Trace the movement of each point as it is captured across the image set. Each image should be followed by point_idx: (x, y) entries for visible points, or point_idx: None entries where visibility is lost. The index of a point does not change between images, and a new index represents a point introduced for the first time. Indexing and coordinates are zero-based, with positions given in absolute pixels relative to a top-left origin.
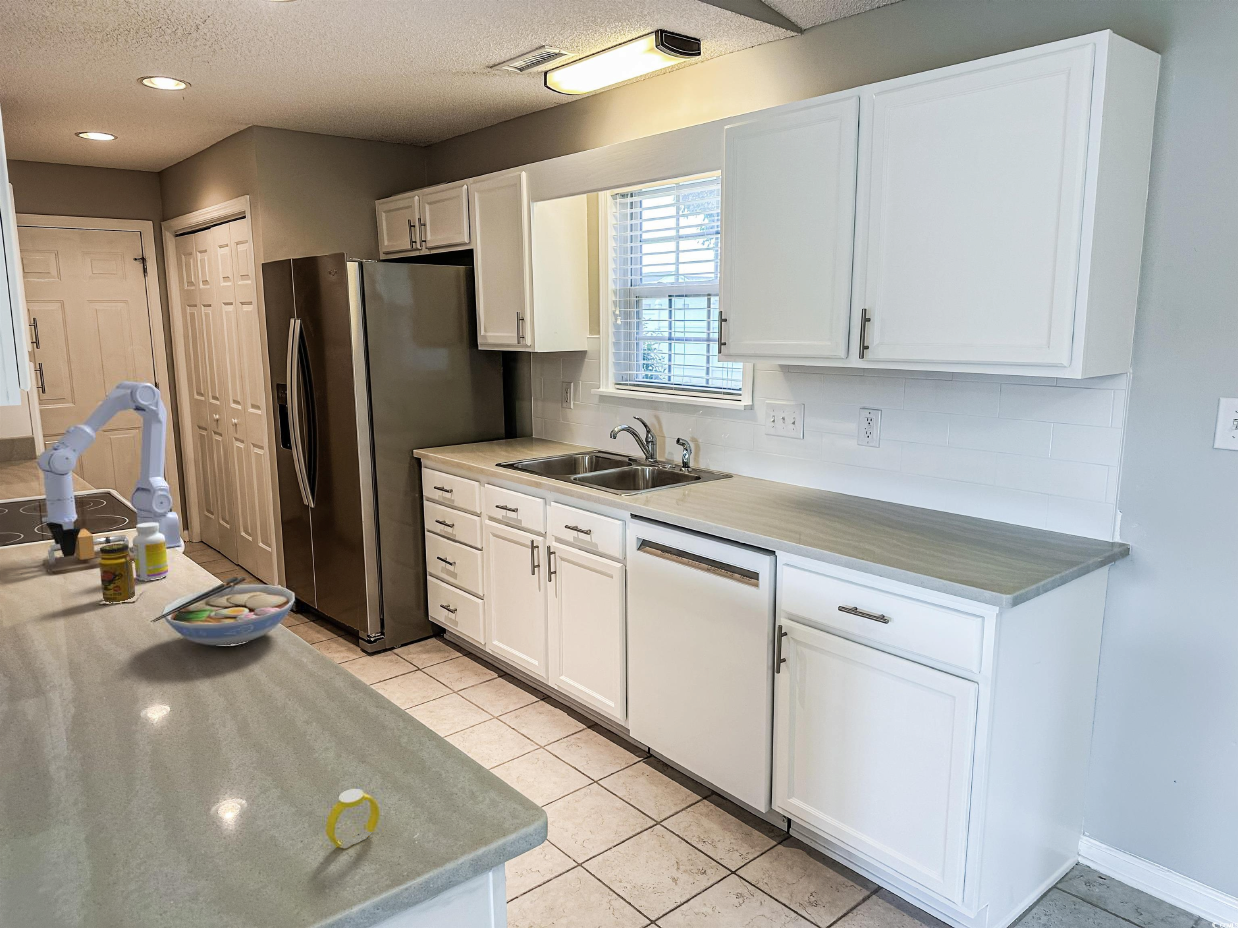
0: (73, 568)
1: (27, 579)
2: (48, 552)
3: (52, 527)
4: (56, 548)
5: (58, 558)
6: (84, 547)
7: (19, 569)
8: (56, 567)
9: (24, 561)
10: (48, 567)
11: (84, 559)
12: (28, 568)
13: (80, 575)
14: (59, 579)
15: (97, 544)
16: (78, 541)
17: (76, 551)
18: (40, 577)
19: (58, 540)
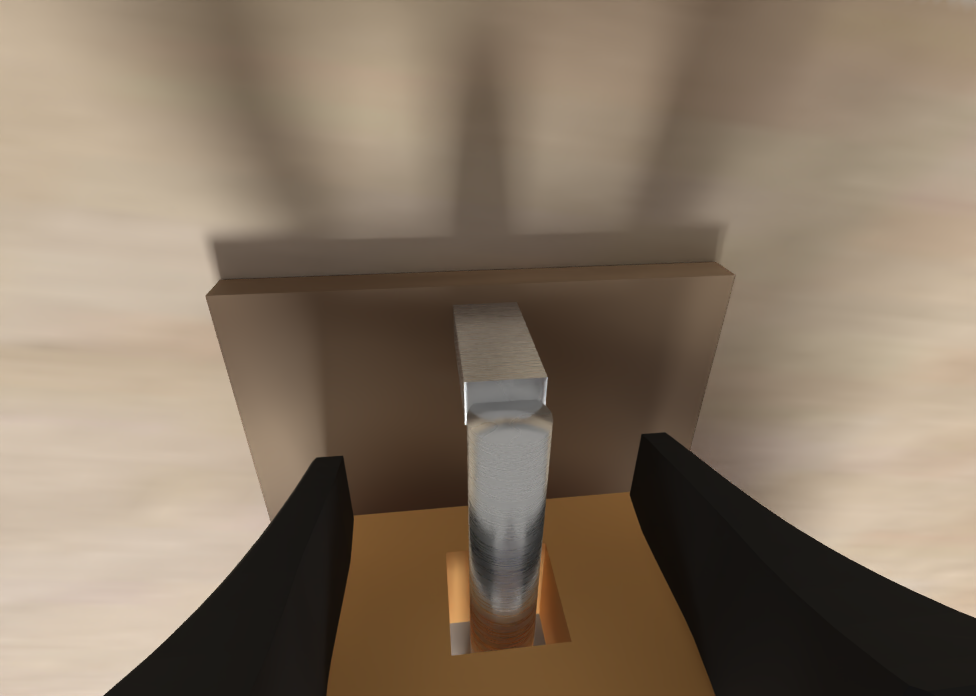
0: (250, 434)
1: (157, 46)
2: (511, 366)
3: (833, 676)
4: (468, 462)
5: (667, 378)
6: None
7: (677, 44)
8: (343, 337)
9: (942, 137)
10: (435, 281)
11: None
12: (647, 129)
13: (101, 443)
14: (16, 307)
15: None
16: None
17: None
18: (186, 176)
19: (261, 609)
